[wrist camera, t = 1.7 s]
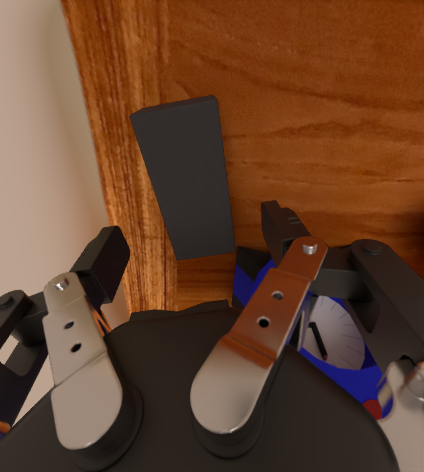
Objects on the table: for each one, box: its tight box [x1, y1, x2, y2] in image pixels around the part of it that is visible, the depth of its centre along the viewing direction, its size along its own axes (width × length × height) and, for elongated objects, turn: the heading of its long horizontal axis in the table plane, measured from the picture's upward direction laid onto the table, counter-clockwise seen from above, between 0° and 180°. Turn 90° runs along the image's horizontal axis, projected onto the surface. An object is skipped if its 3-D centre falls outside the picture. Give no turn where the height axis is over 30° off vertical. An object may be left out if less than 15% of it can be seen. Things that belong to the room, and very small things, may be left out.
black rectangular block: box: [130, 95, 236, 261], centre depth 17 cm, size 11×5×4 cm, turn 9°
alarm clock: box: [232, 246, 383, 420], centre depth 20 cm, size 12×12×15 cm
